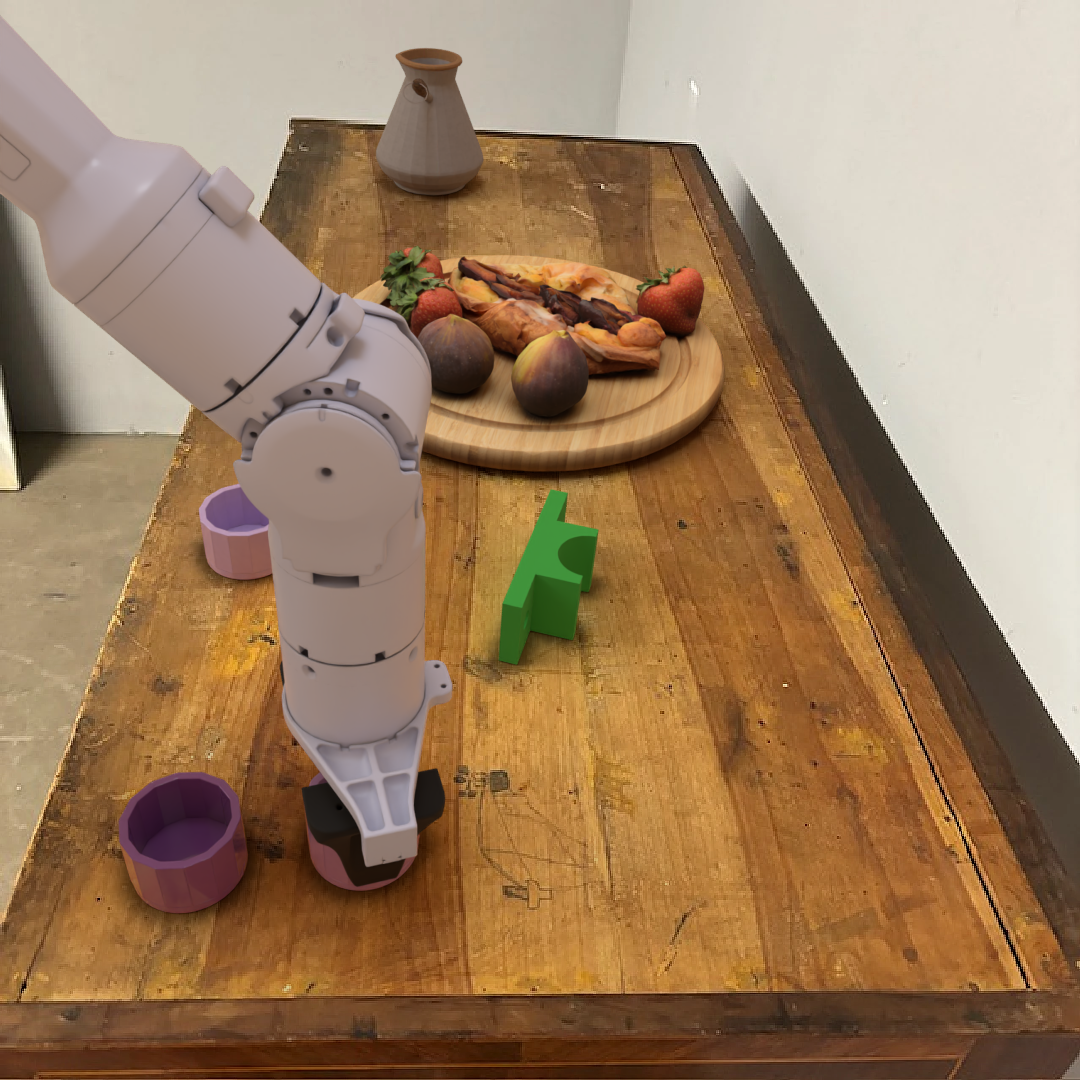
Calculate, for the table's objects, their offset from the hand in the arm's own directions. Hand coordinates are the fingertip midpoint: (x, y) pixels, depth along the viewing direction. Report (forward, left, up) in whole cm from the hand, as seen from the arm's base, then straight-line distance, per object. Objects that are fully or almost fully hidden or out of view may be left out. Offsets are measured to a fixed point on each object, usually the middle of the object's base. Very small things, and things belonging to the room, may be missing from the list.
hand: (363, 823), depth 51 cm
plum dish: (-8, +1, -2) cm, 8 cm away
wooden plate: (+21, +42, -2) cm, 47 cm away
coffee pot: (+21, +77, -2) cm, 79 cm away
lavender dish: (-3, +23, -2) cm, 23 cm away
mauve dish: (0, 0, -2) cm, 2 cm away
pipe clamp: (+14, +14, -2) cm, 20 cm away
